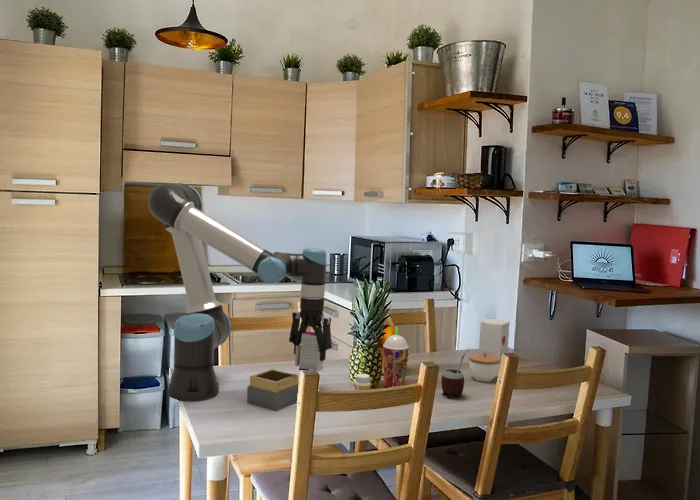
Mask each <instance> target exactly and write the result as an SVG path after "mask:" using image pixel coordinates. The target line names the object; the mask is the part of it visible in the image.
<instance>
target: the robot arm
mask: <svg viewBox="0 0 700 500" xmlns="http://www.w3.org/2000/svg"><path fill="white" fill-rule="evenodd" d="M147 199H148V200H147V206H148V210H149V212H150V213H151V214H152V216H153V217H154V218H156V219H157V220H158V221H160V222H162V223H163V224H164V228H165V229H164V230H166V231H167V232H169V233H170V234H171V236H172V240H173V245H174V249H175V253H176V256H177V261H178V265H179V269H180V273H181V278H182V281H183V286H184V290H185V294H186V299H187V301H188V302H187V303H188V308H187V309H186V311H185V315H182V316H179V317H178V318H177V319H176V321H175V323H174V329H173V335H174V336H173V339H174V340H173V341H174V342H173V346H174V347H173V353H174V355H173V359H174V360H173V371H172V374H171V379H170V382H169V384H168V386H167V395H168V397H169V398H170V399H174V400H178V401H186V402H187V401H189V402H192V401H203V400H208V399H212V398H214V397H216V396H217V395H219V393H220V384H219V382H218V379H217V376H216V372H215V369H214V361H215V358H214V356H215V355H214V354H215V352H214V351H215V349H217V348H218V347H219V346H222V345H223V344H224V343H225V342H226V341H227V339H228V337H229V335H230V334H231V330H232V323H231V319H230V317H229V316H228V314H226V313H225V312H224V309H223V305H222V302H220V301H218V300H217V299H216V296H215V292H214V287H213V282H212V279H211V274H210V270H209V265H208V262H207V258H206V253H205V248H204V246H203V243H205V244H206V245H208V246H209V247H211V248H213V249H215V250H216V251H218V252H220V253H222V254H223V255H224V256H227V257H228V258H230V259H232V260H233V261H234V262H237V263H238V264H239V265H242V266H244V267H245V268H247V269H248V270H250V271H252V272H253V273H254V274H257V275H258V278H259V279H260V280H261V281H262V282H264V283H266V284H275V283H279V282H281V281H282V280H283V279H284V278H297V279H298V278H299V279H300V278H301V279H300V280H301V283H300V296H301V298H300V301H299V302H300V304H299V307H300V311H295V312H292V314H291V315H292V322H291V327H290V328H291V329H290V333H289V339H288V341H289V343H292V344H293V354H294V355H295V357H294V358H295V359H294V366H295V367H298V366H299V364H300V351H301V337H302V333H303V332H307V329H308V328H309V327H311V328H312V330H313V332H315V335H316V337H317V343H318V346H319V350H318V351H317V362H316V370H317V371H316V372H321V371H323V369H324V361H326V355H327V354H326V352H327V351H328V350H331V349H332V347H333V346H332V333H331V332H332V331H331V323H332V317H326V316H324V313H323V312H324V310H325V309H324V308H325V298H324V297H325V293H326V292H325V289H326V277H327V276H326V274H327V273H326V272H327V252H326V251H327V250H325V249H324V248H319V247H318V248H317V247H305V248H304V249H303V250H302V253H292V252H291V253H289V252H279V251H269V250H267V249H266V248H264V247H262V246H261V245H259V244H257V243H255V242H254V241H252V240H250V239H249V238H247V237H245V236H244V235H243V234H241V233H238V231H235V230H234V229H232V228H231V227H229V226H227V225H225V223H224V224H223V223H222V222H220V221H218V220H217V219H215V218H214V217H211V216H210V215H208V214H207V213H205V212H203V211H202V205H203V201H202V198H201V195H200V193H199V192H198V191H197V189H196V188H194V187H193V186H191V185H188V184H186V183H170V182H169V183H161V184H158V185H156V186H155V187H154V188H153V189H152V190H151V191H150V193H149V195H148V198H147Z"/></svg>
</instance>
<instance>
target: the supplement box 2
mask: <svg viewBox="0 0 700 500" xmlns="http://www.w3.org/2000/svg"><path fill="white" fill-rule="evenodd" d="M479 329H480V330H479V341H478V342H479V343H478V344H479V345H478V353H483V354H484V352H486V353H487V354H491V355H495V356H497V357H499V358H500V359H501V356H502V354H503V353H506V352H508V350H509V337H510V336H509V335H510V321H509V320H502V319H496V318H487V319H484V320H482V321H480V328H479Z"/></svg>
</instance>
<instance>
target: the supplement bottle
mask: <svg viewBox="0 0 700 500" xmlns="http://www.w3.org/2000/svg"><path fill="white" fill-rule="evenodd" d="M355 378H356V379H355V380H356V381H355V382H354V391H355V390H370V389H371V387H372V384H371V382H370V381H371V377H370V374H368V373H367V374H366V373H358V374H356V376H355ZM371 390H372V389H371Z"/></svg>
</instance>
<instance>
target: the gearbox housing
mask: <svg viewBox="0 0 700 500" xmlns="http://www.w3.org/2000/svg"><path fill="white" fill-rule="evenodd" d="M298 384H299V375H298V374H295V373H291V372H286V371H282V370H278V369H274V368H271V369H268V370H266V371H265V370H264V371H262V372H259V373H256V374H252V375H251V376H249V385H247V387H246V388H247V395H246V396H247V398H246V403H247V404H249V405H251V406H252V405H253V406H256V407H261V408H264V409H267V410H271V411H275V412H278V411H281V410H283V409H284V408H285V409H286V407H287V408H288V407H290V406H292V405H294V404H297V403H296V401H297V393H298Z"/></svg>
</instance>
